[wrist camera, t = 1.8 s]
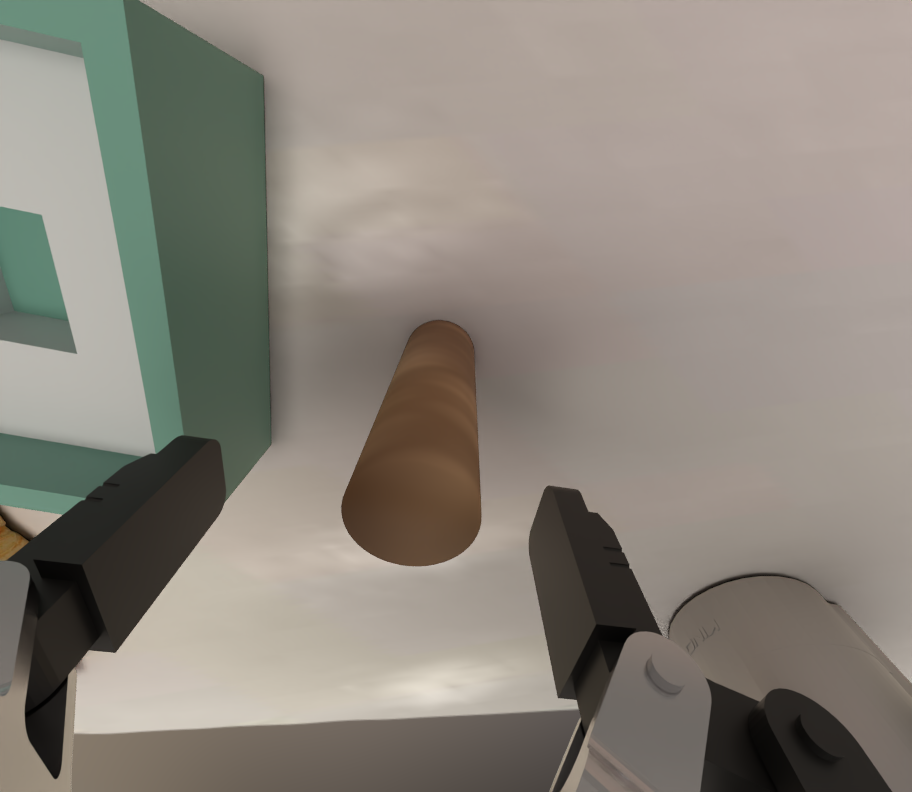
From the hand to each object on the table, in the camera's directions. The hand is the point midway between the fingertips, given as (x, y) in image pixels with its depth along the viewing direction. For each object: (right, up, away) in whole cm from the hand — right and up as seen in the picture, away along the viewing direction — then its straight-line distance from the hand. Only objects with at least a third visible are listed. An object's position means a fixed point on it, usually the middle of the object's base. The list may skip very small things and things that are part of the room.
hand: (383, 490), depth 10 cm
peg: (+1, +4, +8) cm, 9 cm away
